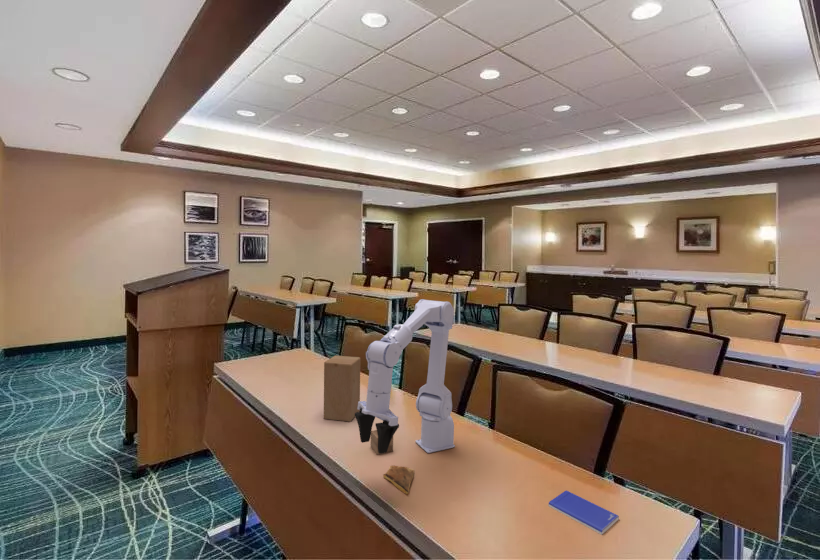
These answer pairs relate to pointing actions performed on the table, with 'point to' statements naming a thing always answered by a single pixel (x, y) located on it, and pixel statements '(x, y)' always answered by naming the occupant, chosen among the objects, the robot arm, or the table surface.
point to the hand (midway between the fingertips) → (373, 447)
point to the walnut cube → (375, 443)
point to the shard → (400, 477)
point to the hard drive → (584, 512)
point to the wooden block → (341, 387)
